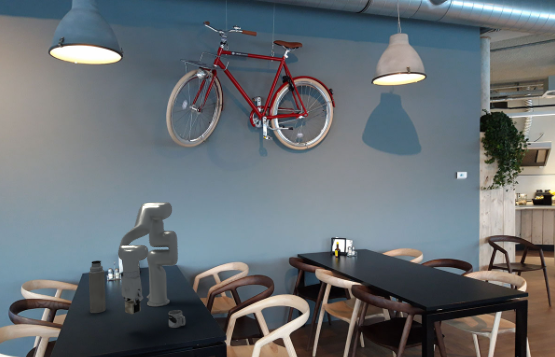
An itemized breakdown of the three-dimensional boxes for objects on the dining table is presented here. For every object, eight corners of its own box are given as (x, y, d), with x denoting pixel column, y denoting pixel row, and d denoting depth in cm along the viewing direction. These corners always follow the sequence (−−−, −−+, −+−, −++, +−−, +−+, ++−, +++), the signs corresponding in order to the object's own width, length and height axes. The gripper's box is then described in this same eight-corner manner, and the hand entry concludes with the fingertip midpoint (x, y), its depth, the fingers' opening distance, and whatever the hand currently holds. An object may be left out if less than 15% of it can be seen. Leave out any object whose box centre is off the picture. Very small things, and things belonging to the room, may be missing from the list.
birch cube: (125, 312, 207) (124, 302, 207) (133, 309, 211) (133, 299, 211) (132, 314, 204) (131, 304, 204) (140, 310, 208) (140, 300, 208)
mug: (166, 326, 213) (165, 313, 213) (176, 322, 219) (175, 309, 218) (180, 330, 208) (179, 316, 207) (190, 325, 213) (189, 312, 213)
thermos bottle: (87, 311, 239) (86, 261, 239) (102, 307, 245) (100, 258, 244) (93, 314, 234) (91, 263, 233) (107, 310, 239) (106, 260, 238)
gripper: (113, 273, 208) (115, 310, 209) (136, 278, 199) (138, 316, 200) (126, 270, 215) (128, 305, 216) (149, 274, 205) (150, 311, 206)
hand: (133, 310), depth 208 cm, fingers closed on birch cube, 5 cm apart
